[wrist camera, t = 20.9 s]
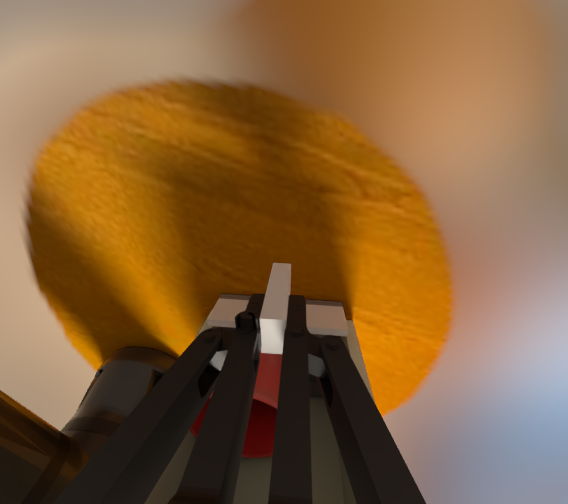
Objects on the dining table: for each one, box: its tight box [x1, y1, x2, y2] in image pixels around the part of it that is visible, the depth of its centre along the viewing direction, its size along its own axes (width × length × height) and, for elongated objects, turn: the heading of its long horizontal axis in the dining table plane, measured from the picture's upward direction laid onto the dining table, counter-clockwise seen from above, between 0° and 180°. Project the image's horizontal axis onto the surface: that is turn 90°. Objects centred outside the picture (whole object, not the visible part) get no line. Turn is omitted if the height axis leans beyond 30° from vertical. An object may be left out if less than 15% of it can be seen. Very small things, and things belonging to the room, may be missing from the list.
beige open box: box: [144, 310, 375, 504], centre depth 21 cm, size 18×14×21 cm
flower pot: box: [190, 351, 282, 458], centre depth 25 cm, size 11×11×10 cm
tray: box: [207, 294, 348, 397], centre depth 28 cm, size 15×14×4 cm
